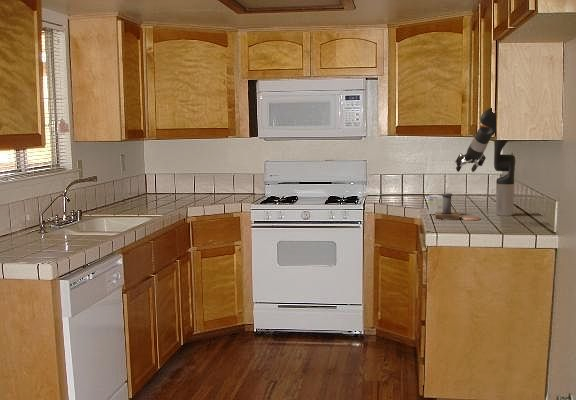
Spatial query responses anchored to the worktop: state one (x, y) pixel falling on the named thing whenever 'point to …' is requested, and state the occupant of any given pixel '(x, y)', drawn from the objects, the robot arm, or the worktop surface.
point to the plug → (446, 203)
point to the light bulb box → (435, 204)
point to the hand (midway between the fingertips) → (464, 170)
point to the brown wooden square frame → (447, 216)
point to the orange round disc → (470, 218)
